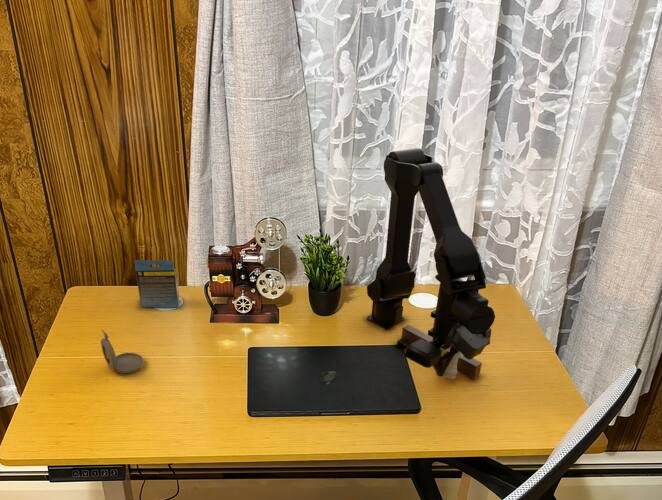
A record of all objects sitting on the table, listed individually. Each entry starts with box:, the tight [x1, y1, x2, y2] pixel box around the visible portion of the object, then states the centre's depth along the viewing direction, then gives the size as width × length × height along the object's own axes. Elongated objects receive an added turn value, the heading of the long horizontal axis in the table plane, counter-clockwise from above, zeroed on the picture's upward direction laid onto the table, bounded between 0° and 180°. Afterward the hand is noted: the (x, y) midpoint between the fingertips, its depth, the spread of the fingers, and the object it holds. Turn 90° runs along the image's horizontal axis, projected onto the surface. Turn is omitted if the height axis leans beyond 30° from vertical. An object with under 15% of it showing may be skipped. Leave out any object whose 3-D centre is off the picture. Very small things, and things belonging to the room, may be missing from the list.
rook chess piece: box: [441, 352, 461, 380], centre depth 157 cm, size 4×4×8 cm
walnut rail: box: [400, 324, 483, 380], centre depth 163 cm, size 20×2×4 cm, turn 45°
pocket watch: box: [100, 328, 144, 374], centre depth 156 cm, size 8×8×10 cm
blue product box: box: [133, 259, 180, 309], centre depth 174 cm, size 9×4×12 cm, turn 93°
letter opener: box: [396, 337, 412, 351], centre depth 165 cm, size 11×2×1 cm, turn 45°
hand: (439, 375), depth 156 cm, fingers closed
